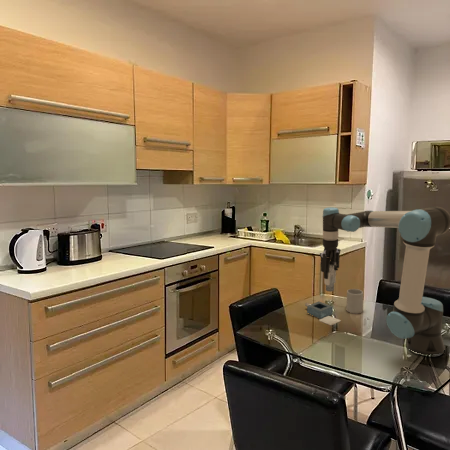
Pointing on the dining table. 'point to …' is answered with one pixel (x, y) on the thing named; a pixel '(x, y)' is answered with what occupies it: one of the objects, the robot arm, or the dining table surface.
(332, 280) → the key
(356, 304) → the mug
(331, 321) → the mat
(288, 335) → the dining table surface
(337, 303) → the dining table surface
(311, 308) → the grey-blue open box
